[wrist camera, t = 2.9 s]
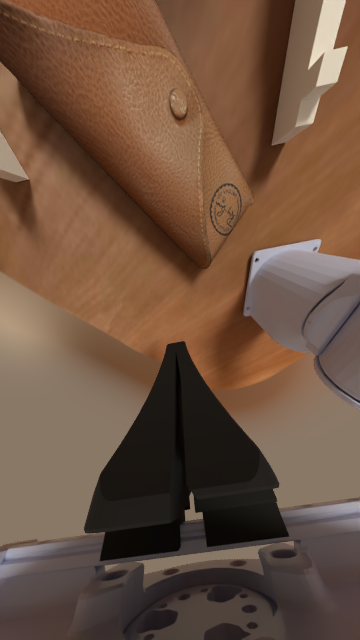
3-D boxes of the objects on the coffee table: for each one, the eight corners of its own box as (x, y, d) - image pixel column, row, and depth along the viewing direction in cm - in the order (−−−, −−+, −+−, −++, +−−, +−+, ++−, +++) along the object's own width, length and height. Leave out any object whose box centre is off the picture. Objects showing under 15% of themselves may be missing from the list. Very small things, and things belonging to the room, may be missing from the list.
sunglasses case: (262, 199, 13) (267, 232, 9) (208, 247, 18) (198, 278, 15) (43, -236, 5) (-391, -955, 2) (60, 76, 10) (-31, 62, 7)
